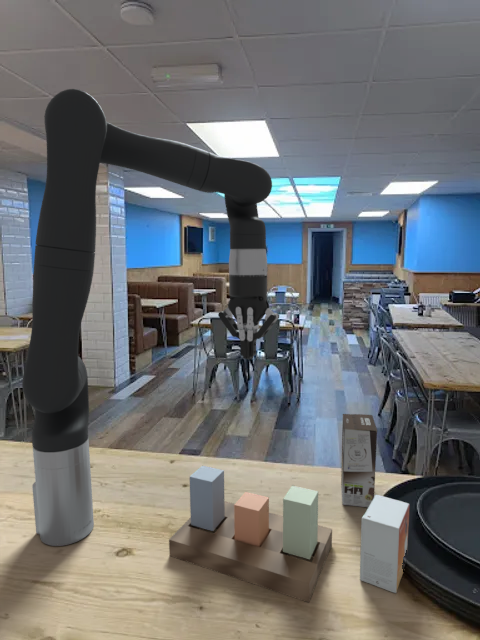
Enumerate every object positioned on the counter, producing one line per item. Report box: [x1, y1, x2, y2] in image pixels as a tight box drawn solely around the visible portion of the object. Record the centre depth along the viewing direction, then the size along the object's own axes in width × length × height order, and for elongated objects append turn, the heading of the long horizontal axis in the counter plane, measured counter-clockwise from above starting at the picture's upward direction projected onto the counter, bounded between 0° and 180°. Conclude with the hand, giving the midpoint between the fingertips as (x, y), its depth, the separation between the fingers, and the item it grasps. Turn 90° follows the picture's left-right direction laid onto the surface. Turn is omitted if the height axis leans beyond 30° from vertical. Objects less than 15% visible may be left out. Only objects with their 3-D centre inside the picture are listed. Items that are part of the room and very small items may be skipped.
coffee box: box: [340, 413, 378, 508], centre depth 90 cm, size 9×6×16 cm
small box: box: [359, 494, 411, 594], centre depth 68 cm, size 8×6×10 cm
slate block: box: [189, 465, 225, 532], centre depth 77 cm, size 4×4×9 cm
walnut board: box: [168, 500, 333, 603], centre depth 74 cm, size 24×14×3 cm, turn 65°
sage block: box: [282, 485, 319, 560], centre depth 70 cm, size 4×4×9 cm
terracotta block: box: [233, 491, 270, 547], centre depth 74 cm, size 4×4×9 cm
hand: (248, 358), depth 89 cm, fingers closed
